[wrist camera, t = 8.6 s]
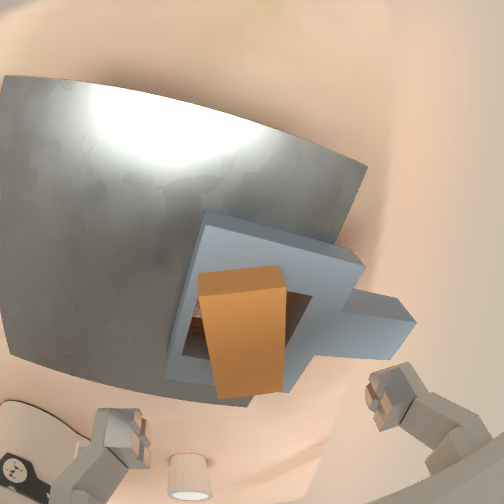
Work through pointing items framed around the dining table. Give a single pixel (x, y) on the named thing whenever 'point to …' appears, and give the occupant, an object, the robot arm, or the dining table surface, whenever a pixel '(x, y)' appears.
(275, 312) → the orange t-shaped block
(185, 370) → the bracket
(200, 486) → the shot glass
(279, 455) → the dining table surface
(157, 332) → the metal plate
